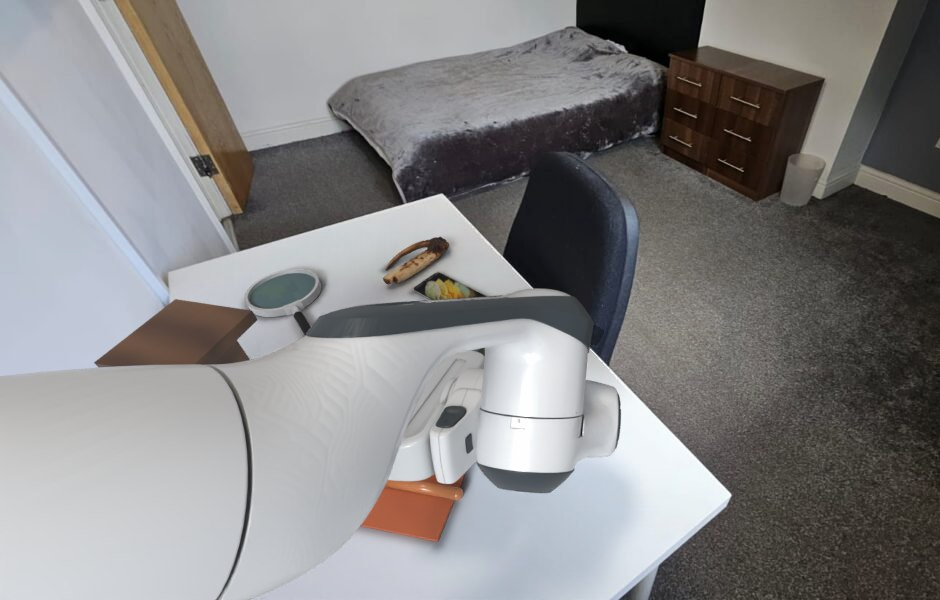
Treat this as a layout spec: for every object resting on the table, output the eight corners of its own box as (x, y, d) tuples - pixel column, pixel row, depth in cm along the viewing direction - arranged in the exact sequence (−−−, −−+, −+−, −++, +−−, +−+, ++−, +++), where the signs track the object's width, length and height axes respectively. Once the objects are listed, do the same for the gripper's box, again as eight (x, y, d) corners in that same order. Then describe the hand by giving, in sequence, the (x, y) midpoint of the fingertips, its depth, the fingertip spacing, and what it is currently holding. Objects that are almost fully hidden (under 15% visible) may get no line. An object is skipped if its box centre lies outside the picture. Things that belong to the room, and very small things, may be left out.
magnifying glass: (286, 384, 79) (281, 376, 77) (241, 292, 96) (236, 285, 94) (365, 346, 85) (362, 339, 84) (309, 267, 103) (306, 260, 101)
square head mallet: (457, 515, 62) (455, 508, 61) (317, 487, 65) (312, 481, 63) (470, 481, 66) (468, 474, 65) (336, 456, 68) (332, 450, 67)
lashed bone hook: (429, 242, 112) (366, 280, 100) (425, 224, 109) (360, 262, 97) (458, 253, 108) (397, 294, 96) (455, 235, 105) (391, 275, 93)
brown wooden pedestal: (287, 503, 64) (180, 377, 46) (221, 490, 65) (93, 362, 47) (330, 439, 71) (252, 310, 54) (270, 428, 72) (175, 298, 55)
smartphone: (465, 317, 91) (411, 288, 96) (465, 319, 91) (412, 291, 97) (490, 297, 95) (437, 271, 101) (490, 300, 96) (438, 273, 102)
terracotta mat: (438, 542, 60) (437, 540, 60) (296, 513, 63) (294, 511, 62) (476, 446, 71) (475, 444, 70) (353, 424, 73) (352, 422, 73)
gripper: (502, 339, 61) (403, 331, 63) (437, 446, 43) (298, 432, 44) (505, 379, 64) (409, 371, 66) (445, 497, 45) (313, 482, 47)
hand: (363, 396), depth 55 cm, fingers open, 8 cm apart
